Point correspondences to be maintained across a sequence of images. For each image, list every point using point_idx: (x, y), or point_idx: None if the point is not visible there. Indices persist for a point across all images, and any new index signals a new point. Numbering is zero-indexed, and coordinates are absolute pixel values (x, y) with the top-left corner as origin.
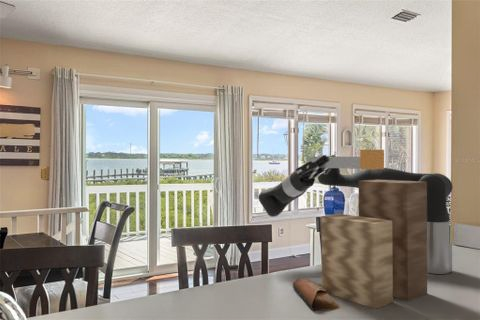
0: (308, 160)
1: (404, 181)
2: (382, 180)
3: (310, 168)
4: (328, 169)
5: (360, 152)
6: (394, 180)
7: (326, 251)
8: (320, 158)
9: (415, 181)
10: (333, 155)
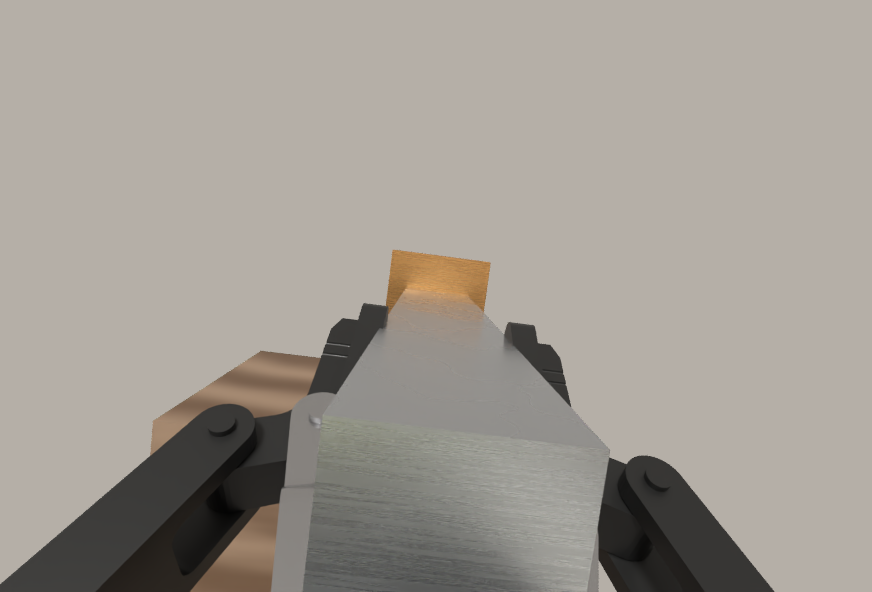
0: (580, 530)
1: (283, 371)
2: (251, 404)
3: (652, 549)
4: (228, 543)
5: (488, 276)
6: (221, 386)
7: None
8: (560, 371)
9: (260, 360)
10: (388, 310)
